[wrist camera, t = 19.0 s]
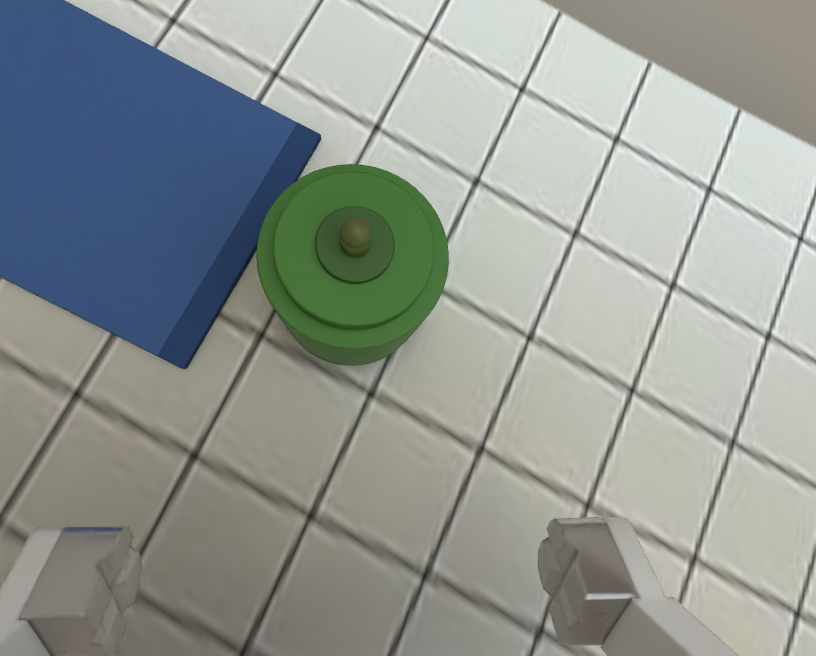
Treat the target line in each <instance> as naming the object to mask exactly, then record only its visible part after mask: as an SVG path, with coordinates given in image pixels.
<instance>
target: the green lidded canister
mask: <svg viewBox="0 0 816 656" xmlns="http://www.w3.org/2000/svg"><path fill="white" fill-rule="evenodd" d="M448 264H449V256H448V245H447V239H446V236H445V232H444V229H443V226H442V224H441V222H440V219H439V217H438V215H437V214H436V212H435V210H434V209H433V207H432V206H431V204H430V203H429V202H428V201H427V199H426V198H425V197H424V196H423V195H422V194H421V193H420V192H419V191H418V190H417V189H416V188H415V187H413V186H412V185H411V184H409V183H408V182H407V181H405V180H403V179H402V178H400V177H398V176H397V175H394V174H392V173H390V172H388V171H385V170H382V169H379V168H376V167H371V166H365V165H353V164H348V165H336V166H331V167H326V168H323V169H320V170H317V171H314V172H312V173H310V174H308V175H306V176H304V177H302V178H300V179H299V180H297V181H296V182H294V183H293V184H292V185H290V186H289V187H288V188H287V189H286V190H285V191H284V192H283V193H282V194H281V195H280V196H279V197H278V198H277V199H276V200H275V202H274V203H273V205H272V206H271V208H270V209H269V211H268V213H267V215H266V217H265V219H264V221H263V224H262V227H261V230H260V233H259V238H258V243H257V267H258V272H259V277H260V281H261V284H262V286H263V289H264V292H265V294H266V296H267V298H268V299H269V301H270V303H271V305H272V306H273V308H274V309H275V311H276V312H277V314H278V315H279V316H280V318H281V319H282V321H283V322H284V324H285V325H286V327H287V328H288V330H289V331H290V332H291V334H292V335H293V337H294V338H295V339H296V340H297V341H298V342H299V343H300V344H301V345H302V346H303V347H304V348H305V349H306V350H308V351H309V352H310V353H312V354H314V355H315V356H317V357H319V358H321V359H323V360H326V361H329V362H332V363H336V364H342V365H361V364H367V363H371V362H375V361H377V360H380V359H382V358H384V357H386V356H388V355H390V354H391V353H393V352H394V351H396V350H397V349H398V348H399V347H400V346H401V345H402V344H403V343H404V342H406V340H407V339H408V338H409V337H410V336H411V335H412V333H413V332H414V331H415V330H416V329H417V328H418V327H419V325H420V324H421V323H422V322H423V321H424V320H425V318H426V317H427V316H428V315H429V313H430V312H431V311H432V310H433V308H434V307H435V305H436V303H437V301H438V300H439V298H440V296H441V293H442V291H443V288H444V285H445V282H446V278H447V272H448Z"/></svg>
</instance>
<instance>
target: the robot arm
mask: <svg viewBox="0 0 816 656" xmlns="http://www.w3.org/2000/svg"><path fill="white" fill-rule="evenodd" d="M547 531H548V534H549V537H548V538H546V539H545V540H543V541H542V542H541V545H540V548H539V551H538V568H539V575H540V579H541V583H542V586H543V589H544V590H545V591H546V592H547V593H548V594H549V595H550V596H551V597H552V598H553V599H554V600H553V603H552V605H551V608H550V614H551V618H552V621H553V624H554V628H555V631H556V635H557V638H558V641H559V645H560V646H565V645H602V646H601V648H602V649H603V651H604V652H605V653H606V654H607V656H739V655H738V654H737V653H735V652H734V651H733V650H732V649H731V648H730V647H729V646H728V645H726V644H725V643H724V642H723V641H722V640H721V639H720V638H719V637H717V636H716V635H715V634H714V633H713V632H712V631H711V630H710V629H708V628H707V627H706V626H705V625H704V624H703V623H702V622H701V621H699V620H698V619H697V618H696V617H695V616H694V615H693V614H692V613H690V612H689V611H688V610H687V609H686V608H685V607H684V606H683V605H681V604H680V603H679V602H678V601H677V600H676V599H675V598H674V597H666V596H665V594H664V592H663V590H662V588H661V585H660V583H659V581H658V579H657V577H656V575H655V573H654V571H653V569H652V567H651V565H650V562H649V560H648V558H647V556H646V554H645V552H644V550H643V548H642V546H641V544H640V542H639V539H638V537H637V535H636V533H635V531H634V529H633V527H632V525H631V523H630V522H629V521H628V520H627V519H626V518H623V517H610V518H599V517H591V518H563V519H553V520H551V521H550V523H549V525H548V527H547ZM132 539H133V535H132V532H131V530H130V528H129V526H121V527H38V528H37V529H36V530H35V531H34V532H33V533H32V534H31V535H30V536H29V537H28V539H27V540H26V542H25V544H24V546H23V548H22V550H21V551H20V553H19V555H18V557H17V559H16V560H15V562H14V564H13V566H12V568H11V569H10V571H9V573H8V575H7V577H6V578H5V580H4V582H3V584H2V586H1V588H0V656H116V654H117V651H118V648H119V645H120V642H121V639H122V636H123V633H124V630H125V628H126V626H125V623H124V620H123V618H122V615H121V614H122V613H123V612H124V611H125V610H126V609H127V608H128V607H129V606H130V605H131V604H132V603H133V602H134V601H135V598H136V594H137V591H138V588H139V584H140V578H141V571H142V564H141V556H140V553H139V550H137V549H136V548H134V547H132V546H131V545H130V544H131V542H132Z"/></svg>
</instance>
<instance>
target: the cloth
mask: <svg viewBox="0 0 816 656" xmlns="http://www.w3.org/2000/svg"><path fill="white" fill-rule="evenodd" d="M320 140H321V135H320V134H318V133H317V132H315V131H313V130H311V129H309V128H307V127H305V126H303V125H301V124H299V123H297V122H295V121H293V120H291V119H289V118H287V117H285V116H283V115H282V114H280V113H278V112H276V111H274V110H272V109H270V108H268V107H266V106H264V105H262V104H261V103H259V102H257V101H255V100H253V99H251V98H249V97H247V96H245V95H243V94H242V93H240V92H238V91H236V90H234V89H232V88H230V87H228V86H226V85H224V84H223V83H221V82H219V81H217V80H215V79H213V78H211V77H209V76H207V75H205V74H203V73H202V72H200V71H198V70H196V69H194V68H192V67H190V66H188V65H186V64H184V63H183V62H181V61H179V60H177V59H175V58H173V57H171V56H169V55H167V54H165V53H163V52H162V51H160V50H158V49H156V48H154V47H152V46H150V45H148V44H146V43H144V42H143V41H141V40H139V39H137V38H135V37H133V36H131V35H129V34H127V33H125V32H123V31H122V30H120V29H118V28H116V27H114V26H112V25H110V24H108V23H106V22H104V21H103V20H101V19H99V18H97V17H95V16H93V15H91V14H89V13H87V12H85V11H83V10H82V9H80V8H78V7H76V6H74V5H72V4H70V3H68V2H66V1H64V0H0V277H2V278H4V279H6V280H8V281H10V282H12V283H14V284H16V285H18V286H20V287H22V288H24V289H26V290H28V291H30V292H31V293H33V294H35V295H37V296H39V297H41V298H43V299H45V300H47V301H49V302H51V303H53V304H55V305H57V306H59V307H61V308H63V309H65V310H67V311H69V312H71V313H73V314H75V315H77V316H79V317H81V318H83V319H85V320H87V321H89V322H91V323H93V324H95V325H97V326H99V327H101V328H103V329H105V330H107V331H109V332H111V333H113V334H115V335H117V336H119V337H121V338H123V339H125V340H127V341H129V342H131V343H133V344H135V345H137V346H139V347H141V348H143V349H145V350H147V351H149V352H151V353H153V354H155V355H157V356H159V357H160V358H162V359H164V360H166V361H168V362H170V363H172V364H174V365H176V366H178V367H180V368H182V369H186V368H187V367H188V365H189V363H190V362H191V360H192V358H193V357H194V355H195V353H196V351H197V350H198V348H199V346H200V345H201V343H202V341H203V339H204V338H205V336H206V334H207V333H208V331H209V329H210V328H211V326H212V324H213V322H214V321H215V319H216V317H217V316H218V314H219V312H220V311H221V309H222V307H223V305H224V304H225V302H226V300H227V299H228V297H229V295H230V293H231V292H232V290H233V288H234V287H235V285H236V283H237V282H238V280H239V278H240V276H241V275H242V273H243V271H244V270H245V268H246V266H247V265H248V263H249V261H250V259H251V258H252V256H253V254H254V253H255V251H256V249H257V243H258V238H259V233H260V230H261V227H262V224H263V221H264V219H265V217H266V215H267V213H268V211H269V209H270V208H271V206H272V205H273V203H274V202H275V200H276V199H277V198H278V197H279V196H280V195H281V194H282V193H283V192H284V191H285V190H286V189H287V188H288V187H289V186H290V185H292V184H293V183H294V182H296V181H297V179H298V178H299V176H300V174H301V173H302V171H303V169H304V167H305V166H306V164H307V162H308V161H309V159H310V157H311V156H312V154H313V152H314V150H315V149H316V147H317V145H318V144H319V142H320Z"/></svg>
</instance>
